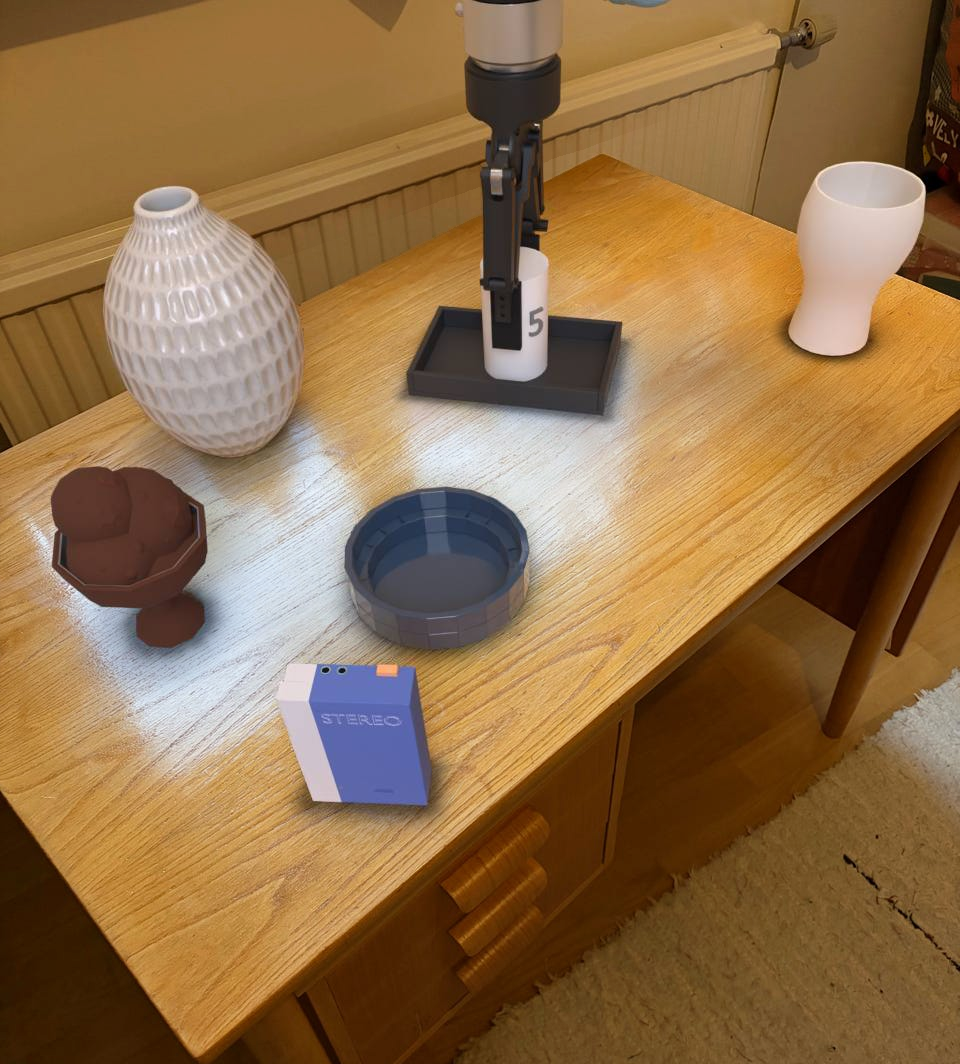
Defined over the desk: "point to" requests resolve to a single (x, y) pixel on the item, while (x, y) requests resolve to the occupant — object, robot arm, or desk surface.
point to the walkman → (357, 732)
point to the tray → (566, 385)
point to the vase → (202, 326)
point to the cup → (852, 250)
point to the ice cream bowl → (132, 547)
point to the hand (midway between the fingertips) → (516, 322)
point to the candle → (533, 323)
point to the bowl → (438, 567)
